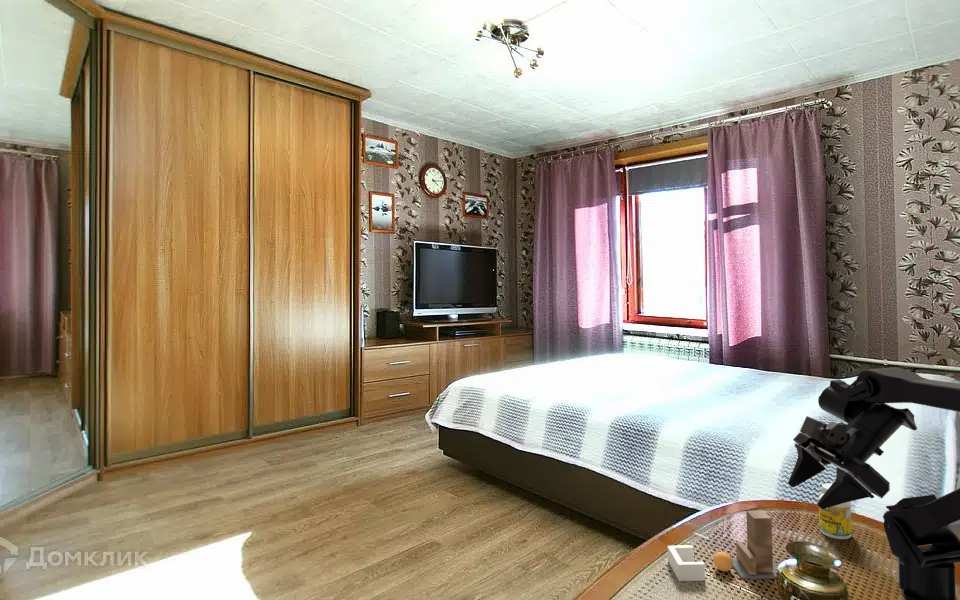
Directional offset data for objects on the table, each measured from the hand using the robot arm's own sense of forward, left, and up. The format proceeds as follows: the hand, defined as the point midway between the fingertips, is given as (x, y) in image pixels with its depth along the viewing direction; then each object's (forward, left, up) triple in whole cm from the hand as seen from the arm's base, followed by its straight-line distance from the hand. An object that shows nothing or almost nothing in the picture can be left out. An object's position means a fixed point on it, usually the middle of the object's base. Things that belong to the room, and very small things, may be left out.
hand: (804, 495), depth 92 cm
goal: (+18, +11, -13) cm, 25 cm away
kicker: (+7, +5, -13) cm, 15 cm away
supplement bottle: (-4, -17, -14) cm, 22 cm away
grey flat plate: (+7, +5, -13) cm, 16 cm away
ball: (+12, +8, -12) cm, 19 cm away
